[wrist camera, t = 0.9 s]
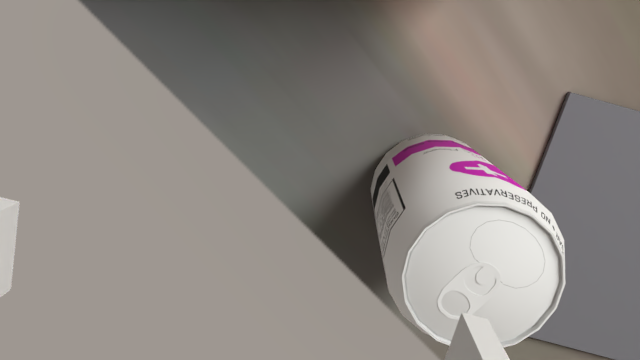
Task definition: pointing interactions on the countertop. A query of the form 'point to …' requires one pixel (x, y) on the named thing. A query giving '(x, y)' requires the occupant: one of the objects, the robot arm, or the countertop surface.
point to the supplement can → (464, 241)
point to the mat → (595, 226)
